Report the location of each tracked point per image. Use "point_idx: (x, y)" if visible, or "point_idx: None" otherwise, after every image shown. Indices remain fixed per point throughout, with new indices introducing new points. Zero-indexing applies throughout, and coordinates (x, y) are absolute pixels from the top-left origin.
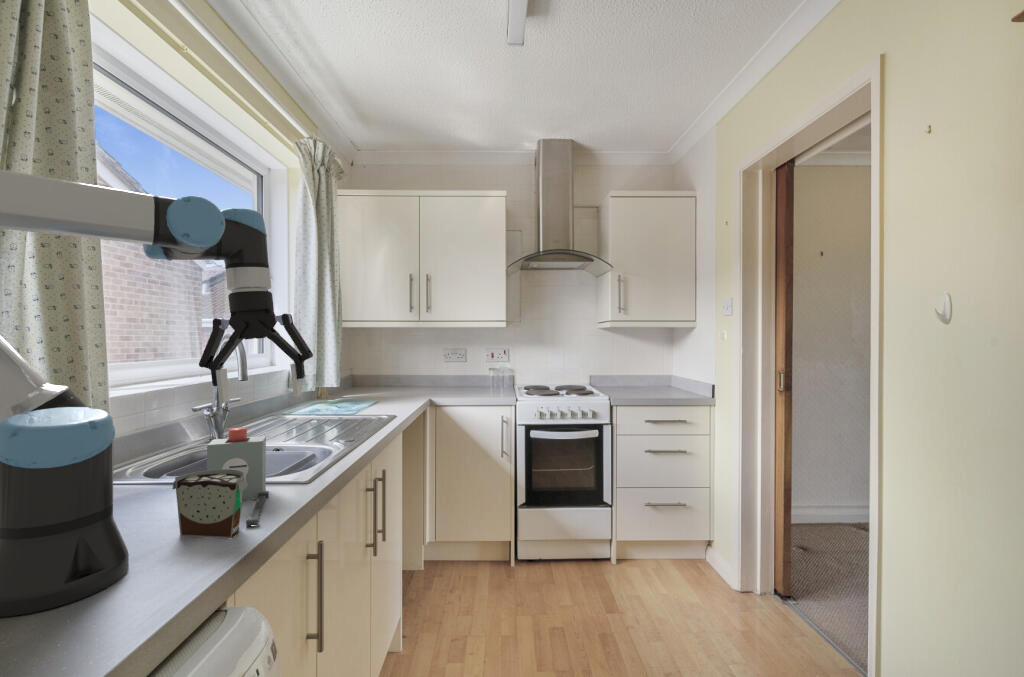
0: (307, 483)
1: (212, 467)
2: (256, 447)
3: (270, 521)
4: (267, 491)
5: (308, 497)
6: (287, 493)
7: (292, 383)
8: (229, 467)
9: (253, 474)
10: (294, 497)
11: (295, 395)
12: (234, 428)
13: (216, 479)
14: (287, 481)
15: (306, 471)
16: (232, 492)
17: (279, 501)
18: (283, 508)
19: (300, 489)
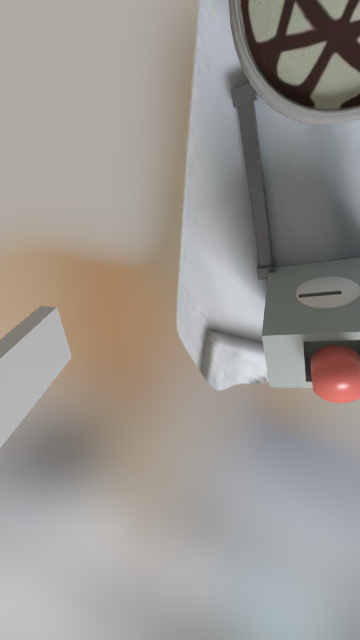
0: (209, 328)
1: None
2: (277, 325)
3: (214, 120)
4: (259, 276)
5: (185, 255)
6: (229, 285)
7: (11, 345)
8: (340, 291)
9: (285, 289)
10: (210, 260)
11: (44, 308)
12: (352, 396)
13: (332, 13)
14: (246, 346)
15: (228, 385)
16: None
17: (231, 243)
18: (212, 200)
19: (212, 300)
